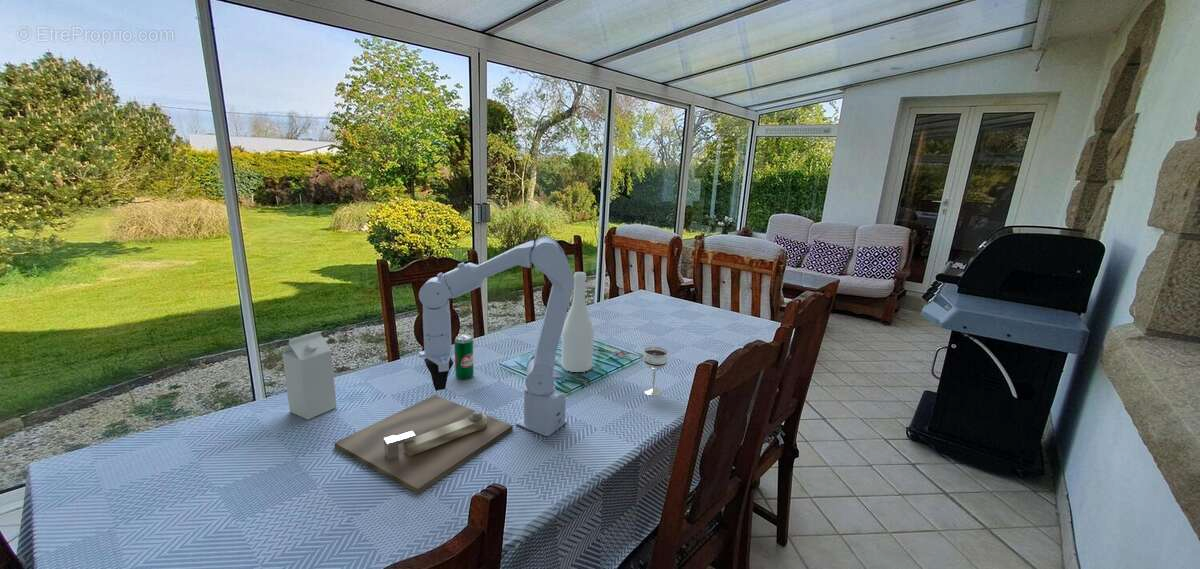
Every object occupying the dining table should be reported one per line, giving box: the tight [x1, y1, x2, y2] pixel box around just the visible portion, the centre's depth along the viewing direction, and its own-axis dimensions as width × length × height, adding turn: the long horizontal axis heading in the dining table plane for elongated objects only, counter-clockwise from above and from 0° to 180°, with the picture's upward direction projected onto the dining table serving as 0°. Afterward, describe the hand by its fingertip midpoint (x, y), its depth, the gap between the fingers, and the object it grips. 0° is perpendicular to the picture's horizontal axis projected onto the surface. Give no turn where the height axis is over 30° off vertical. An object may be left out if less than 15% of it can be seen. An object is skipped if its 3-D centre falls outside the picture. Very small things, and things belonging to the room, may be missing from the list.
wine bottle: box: [561, 271, 595, 373], centre depth 137 cm, size 10×10×30 cm
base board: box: [334, 394, 514, 495], centre depth 100 cm, size 26×26×1 cm
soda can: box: [453, 334, 475, 380], centre depth 130 cm, size 5×5×12 cm
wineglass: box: [642, 346, 669, 396], centre depth 126 cm, size 7×7×12 cm
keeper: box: [384, 431, 416, 461], centre depth 92 cm, size 6×2×4 cm, turn 130°
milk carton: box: [282, 331, 338, 421], centre depth 107 cm, size 7×7×19 cm
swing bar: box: [403, 410, 487, 456], centre depth 98 cm, size 18×4×3 cm, turn 134°
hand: (439, 388), depth 103 cm, fingers closed
